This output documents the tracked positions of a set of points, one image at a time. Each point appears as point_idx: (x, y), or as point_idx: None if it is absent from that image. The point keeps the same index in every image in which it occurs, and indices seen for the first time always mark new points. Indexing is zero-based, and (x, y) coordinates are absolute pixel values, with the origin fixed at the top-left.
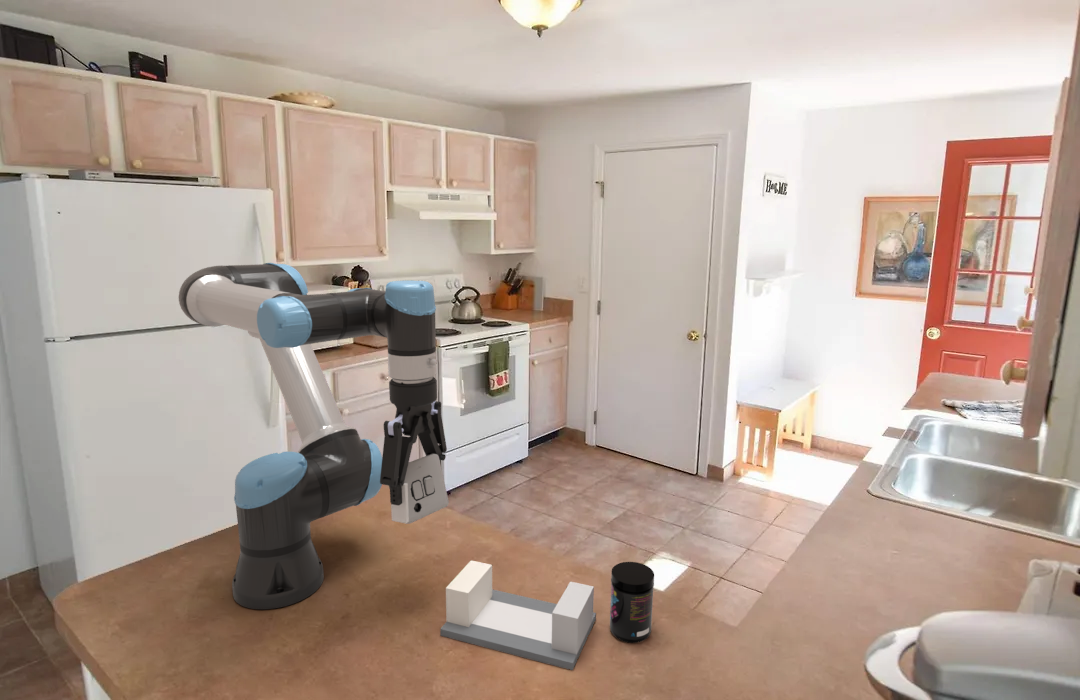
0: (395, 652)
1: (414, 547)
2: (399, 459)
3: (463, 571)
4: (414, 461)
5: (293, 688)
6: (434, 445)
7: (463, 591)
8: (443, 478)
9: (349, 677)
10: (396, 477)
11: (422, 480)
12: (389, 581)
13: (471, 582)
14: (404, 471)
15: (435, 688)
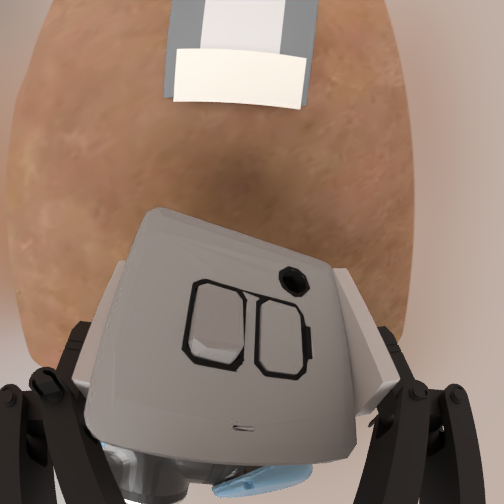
0: (350, 155)
1: (97, 257)
2: (462, 480)
3: (226, 96)
4: (251, 463)
5: (410, 236)
6: (90, 484)
7: (302, 69)
8: (114, 298)
9: (396, 190)
10: (458, 413)
11: (243, 361)
12: None
13: (264, 63)
14: (415, 433)
15: (400, 82)
